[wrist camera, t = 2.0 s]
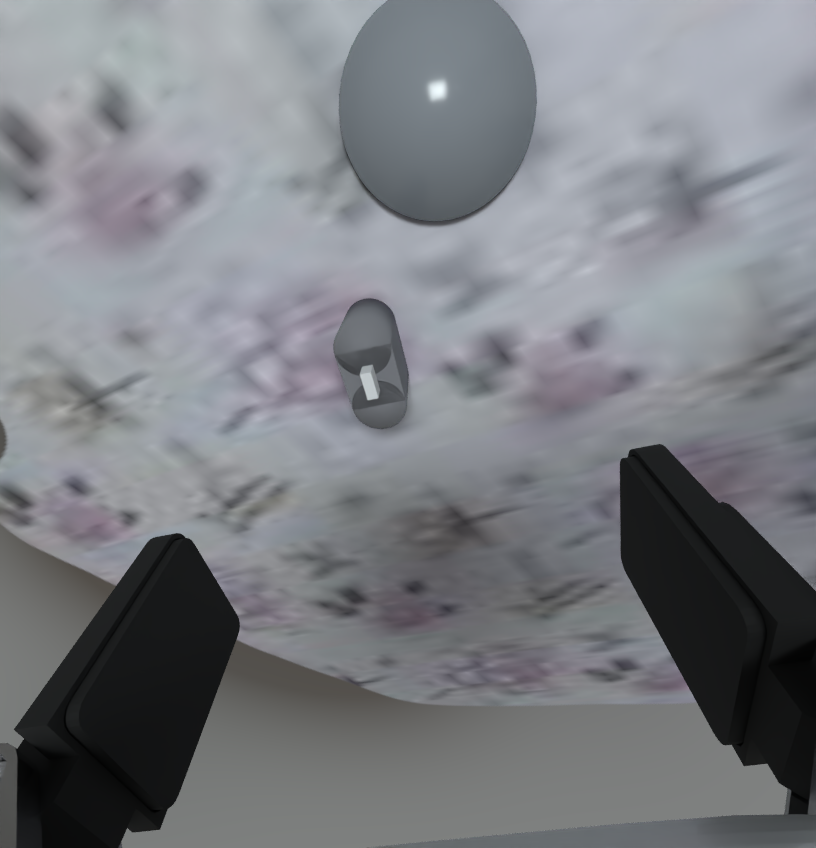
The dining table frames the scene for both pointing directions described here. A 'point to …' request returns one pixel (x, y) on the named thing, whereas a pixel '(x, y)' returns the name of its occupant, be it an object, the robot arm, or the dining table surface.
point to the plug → (372, 364)
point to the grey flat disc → (437, 105)
